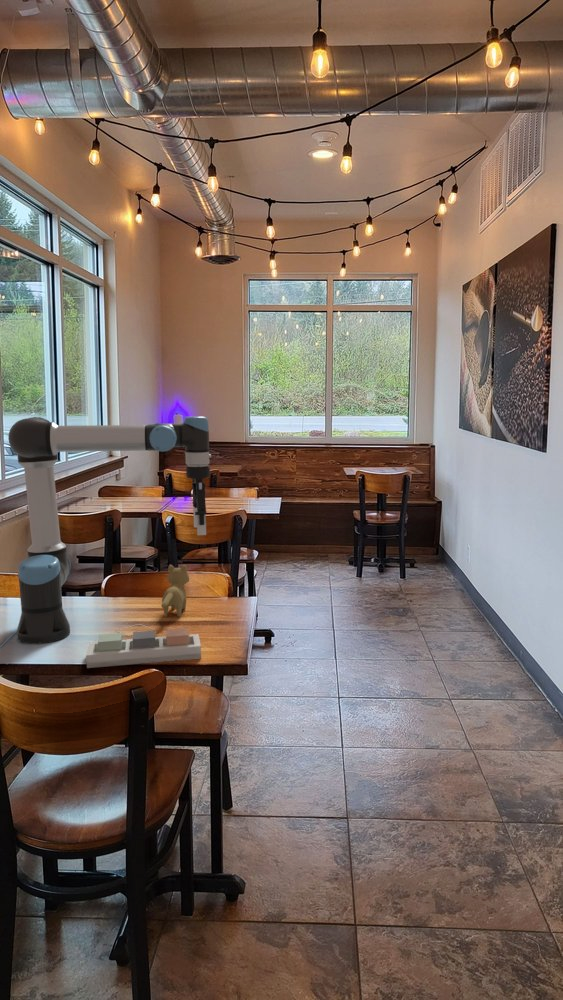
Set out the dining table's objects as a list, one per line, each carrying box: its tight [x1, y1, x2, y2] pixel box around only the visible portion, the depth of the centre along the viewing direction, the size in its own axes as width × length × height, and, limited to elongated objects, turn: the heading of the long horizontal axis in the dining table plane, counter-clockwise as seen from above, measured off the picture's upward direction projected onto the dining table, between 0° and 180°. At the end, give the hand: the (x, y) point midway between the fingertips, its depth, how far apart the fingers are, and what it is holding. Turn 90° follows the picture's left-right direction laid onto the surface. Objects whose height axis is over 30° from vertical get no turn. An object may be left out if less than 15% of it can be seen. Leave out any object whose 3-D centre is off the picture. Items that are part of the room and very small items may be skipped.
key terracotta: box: [165, 627, 190, 645], centre depth 192 cm, size 6×6×2 cm
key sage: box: [97, 632, 123, 651], centre depth 189 cm, size 6×6×2 cm
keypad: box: [85, 633, 202, 669], centre depth 191 cm, size 30×10×4 cm, turn 101°
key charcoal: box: [132, 629, 156, 648], centre depth 190 cm, size 6×6×2 cm
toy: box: [161, 564, 190, 618], centre depth 226 cm, size 7×24×15 cm, turn 174°
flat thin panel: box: [115, 623, 162, 637], centre depth 211 cm, size 9×1×15 cm
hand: (199, 531), depth 225 cm, fingers open, 13 cm apart
